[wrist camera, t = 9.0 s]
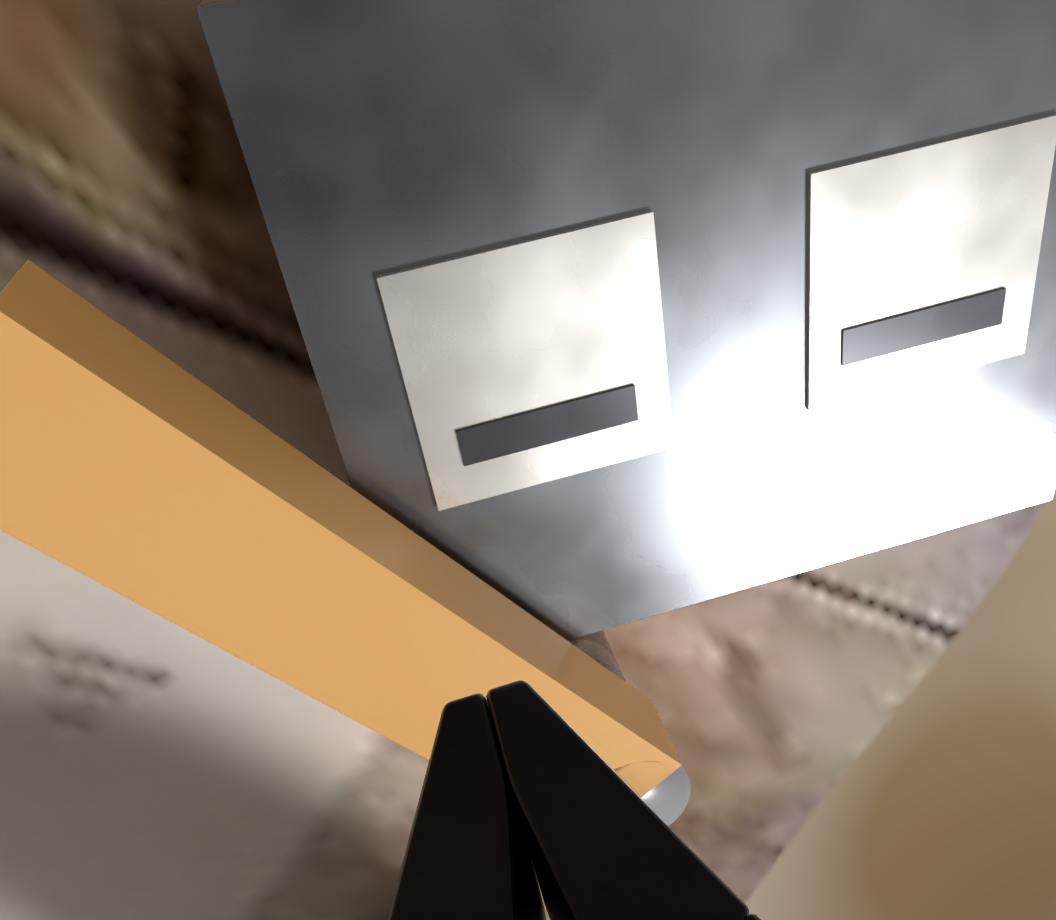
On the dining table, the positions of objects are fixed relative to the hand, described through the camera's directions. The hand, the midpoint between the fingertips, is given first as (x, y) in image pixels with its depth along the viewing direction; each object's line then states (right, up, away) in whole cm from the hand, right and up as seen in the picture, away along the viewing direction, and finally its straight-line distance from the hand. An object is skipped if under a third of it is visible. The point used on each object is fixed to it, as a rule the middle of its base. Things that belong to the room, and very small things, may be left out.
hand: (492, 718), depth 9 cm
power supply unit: (+4, +5, +12) cm, 14 cm away
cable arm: (-3, 0, +9) cm, 10 cm away
